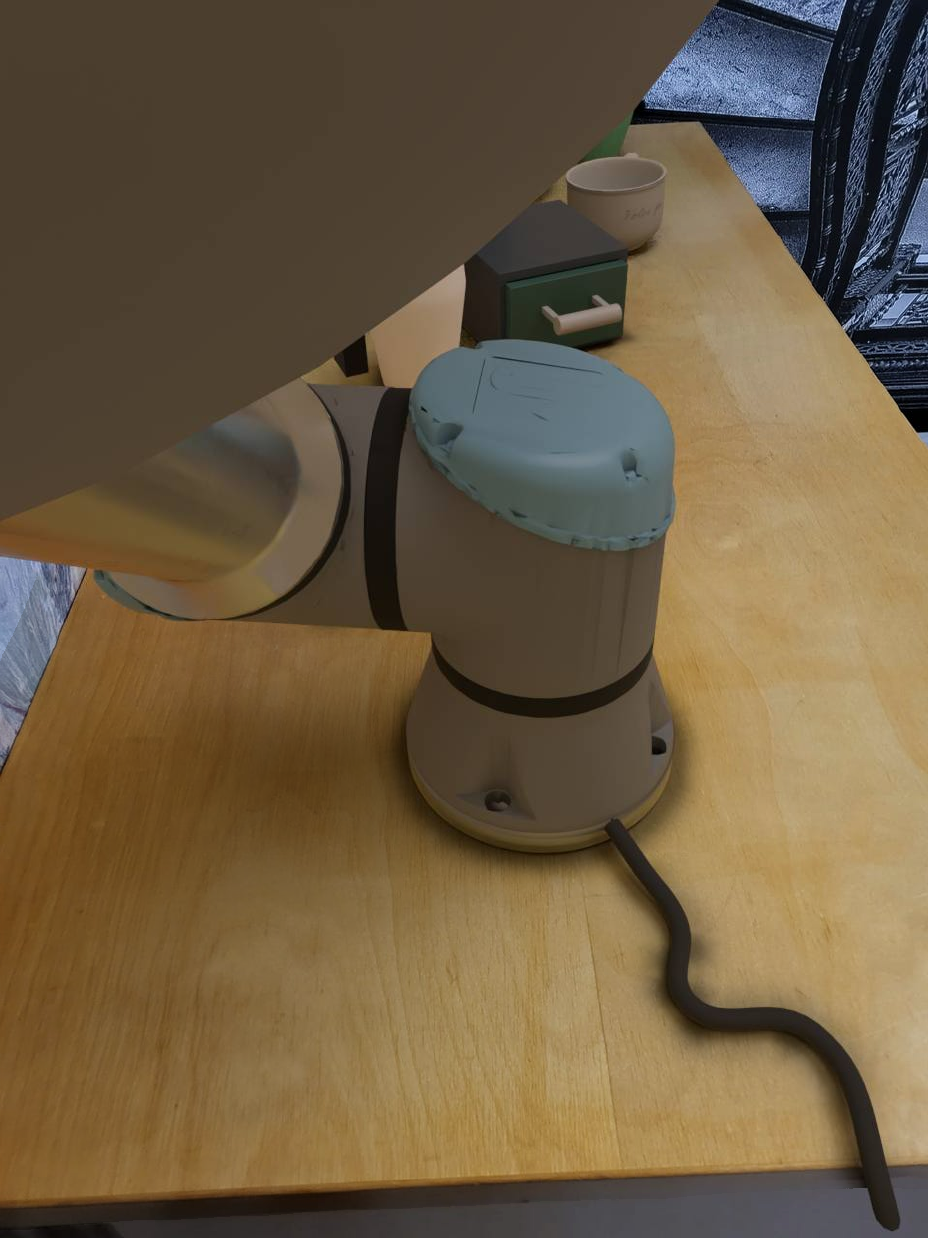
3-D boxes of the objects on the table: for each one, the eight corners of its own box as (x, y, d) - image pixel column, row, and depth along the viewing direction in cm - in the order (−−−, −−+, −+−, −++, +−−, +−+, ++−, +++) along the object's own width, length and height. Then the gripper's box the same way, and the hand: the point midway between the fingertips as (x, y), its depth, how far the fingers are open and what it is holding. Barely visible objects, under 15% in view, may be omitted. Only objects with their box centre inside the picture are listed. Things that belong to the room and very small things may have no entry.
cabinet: (621, 338, 96) (628, 247, 91) (499, 366, 93) (498, 273, 87) (557, 284, 106) (560, 198, 100) (444, 308, 103) (440, 221, 97)
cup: (457, 408, 88) (452, 274, 80) (358, 400, 89) (343, 268, 81) (477, 359, 94) (474, 231, 86) (384, 353, 96) (372, 226, 88)
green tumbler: (641, 168, 132) (647, 84, 125) (566, 172, 132) (569, 88, 125) (621, 134, 143) (626, 55, 136) (552, 138, 143) (554, 59, 136)
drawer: (646, 354, 92) (653, 281, 87) (531, 382, 89) (531, 307, 84) (563, 285, 104) (565, 217, 99) (458, 307, 101) (456, 238, 96)
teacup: (635, 269, 108) (641, 193, 103) (546, 251, 113) (548, 177, 107) (685, 225, 117) (693, 153, 112) (601, 210, 121) (605, 140, 116)
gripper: (399, -106, 52) (426, 321, 68) (147, -82, 49) (237, 361, 65) (453, -89, 47) (468, 369, 63) (174, -61, 44) (265, 416, 59)
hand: (351, 365), depth 64 cm, fingers closed
